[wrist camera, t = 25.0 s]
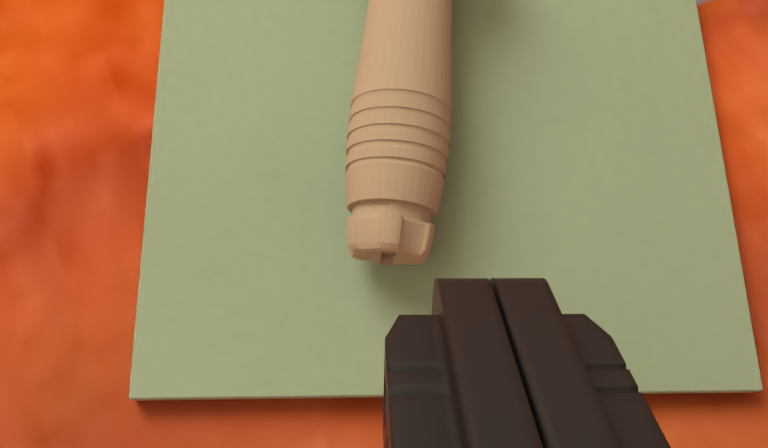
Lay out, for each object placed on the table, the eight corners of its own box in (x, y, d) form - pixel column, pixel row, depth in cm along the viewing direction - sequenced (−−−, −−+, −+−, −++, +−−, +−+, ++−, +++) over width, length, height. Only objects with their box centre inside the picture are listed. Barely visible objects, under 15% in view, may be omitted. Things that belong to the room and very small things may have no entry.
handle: (484, 253, 24) (504, -120, 28) (295, 235, 24) (341, -135, 28) (464, 278, 29) (484, -44, 33) (306, 264, 29) (344, -57, 33)
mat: (681, -36, 34) (688, -47, 33) (753, 392, 28) (764, 391, 27) (173, -44, 33) (168, -56, 32) (134, 400, 27) (127, 399, 26)
